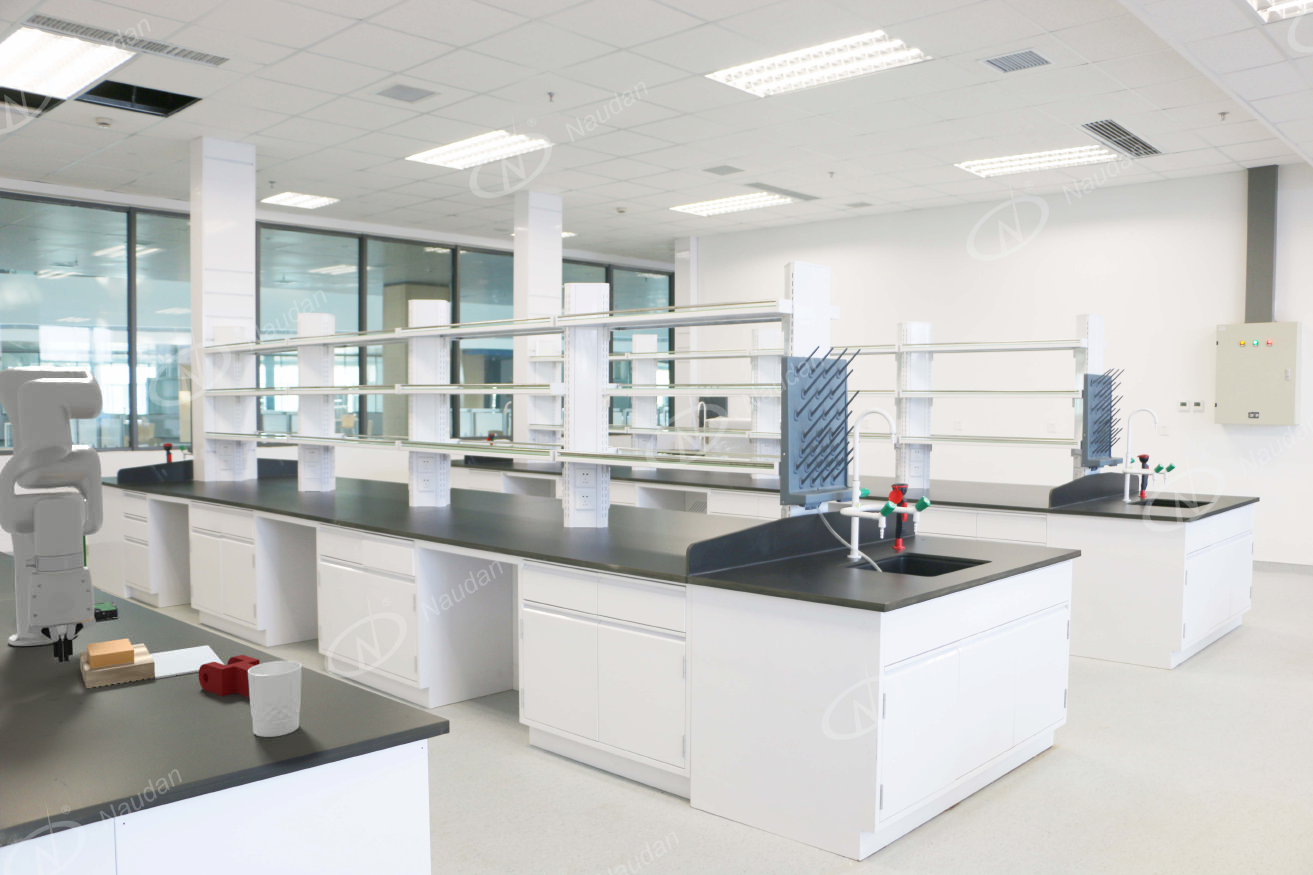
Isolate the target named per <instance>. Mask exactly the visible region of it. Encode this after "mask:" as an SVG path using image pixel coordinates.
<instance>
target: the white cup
mask: <svg viewBox="0 0 1313 875" xmlns="http://www.w3.org/2000/svg"><path fill="white" fill-rule="evenodd" d="M248 681H249V695H250V698H249V705H250V714H251V718H252V719H251V720H252V732H253V734H254V735H255V736H257V737H262V738H270V737H271V738H273V737H274V738H275V737H280V736H285V735H289V734H291V733H293V732H295V731H296V730H298V729H299V728H300V727H299V725H300V711H301V701H302V699H301V696H302V663H301V662H299V661H295V660H273V661H267V662H263V663H260V664H258V665H256V666H253V667H251V668H250V669H249V670H248Z"/></svg>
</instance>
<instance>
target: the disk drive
mask: <svg viewBox="0 0 1313 875" xmlns="http://www.w3.org/2000/svg"><path fill="white" fill-rule="evenodd" d="M94 617H95V620H97V621H103V620H102V619H105V620H108V619H107V618H113V617H118V618H119V609H118V607H117V605H116V604H115V602H114V601H111V602H100V603H98V602H97V603H94ZM113 619H114V618H113Z"/></svg>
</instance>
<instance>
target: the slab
mask: <svg viewBox="0 0 1313 875" xmlns="http://www.w3.org/2000/svg"><path fill="white" fill-rule="evenodd" d="M132 645H133V644H132V643H131V641H130V639H129V638H122V639H114V640H109V641H101V642H100V641H99V642H92V643H86V652H87V657H88V660H89V664H90V667H91V668H93V667H100V666H106V665H113V664H119V663H126V662H132V661H134V649H133V647H132Z"/></svg>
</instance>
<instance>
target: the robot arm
mask: <svg viewBox="0 0 1313 875" xmlns="http://www.w3.org/2000/svg"><path fill="white" fill-rule="evenodd" d="M0 404H1V406H2V408H3V410H4V412H5V415H6V416H7V417H8V420H9V422H10V426H11V431H12V432H11V433H12V434H11V435H12V456H11V457H10V459H9V460H8V461H7V462H6V463H5V465H4V466H3V468H2V469H1V471H0V527H1V529H2V530H3V531H4V532H6V533H8V534H10V537H11V541H12V548H13V562H14V587H15V588H14V590H15V609H16V611H15V614H16V633H14V634H12V635H11V636H9V637H8V644H9V645H11V646H16V647H33V646H34V647H35V646H44V645H51V644H52V646H53V647H52V648H53V650H52V651H53V652H52V653H53V658H57V662H58V663H63V661H64V662H69V661H70V658H69V657H70V656H73V655H74V648H73V647H74V644H73V640H74V638H75V637H76V636H78V633H80V632H81V631H82V630H83V629H85V628H89V627H92V626H95V625H96V624H97V621H96V620H95V617H94V604H95V600H94V586H93V580H92V575H91V572H90V568H89V567H88V566H86V567H84V551H83V536H84V535H85V536H91V535H94V534H97V533H99V531H100V530H101V529H102V527H103V523H104V501H103V488H102V487H103V483H102V482H103V481H102V478H103V477H102V465H101V460H100V456H99V454H98V451H97V450H96V449H95V448H94V447H93V446H90V445H86V444H85V445H84V444H73V436H72V428H71V421H70V420H94V419H97V418H98V417H99V416H100V415H101V412H102V410H103V396H102V390H101V386H100V385H99V382H98V380H97V379H96V377H95V375H94V374H93V372H92V371H91V370H90V369H87V368H83V367H59V366H57V367H56V366H55V367H53V366H49V367H48V366H17V367H9V368H5V369H2V370H1V371H0ZM15 484H17V486H19V487H20V488H21V489H26V490H33V491H34V490H55V489H56V490H57V489H75V490H77V491H58V492H56V491H55V492H49V491H48V492H34V493H22V494H21V493H20V494H16V493H15Z"/></svg>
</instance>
